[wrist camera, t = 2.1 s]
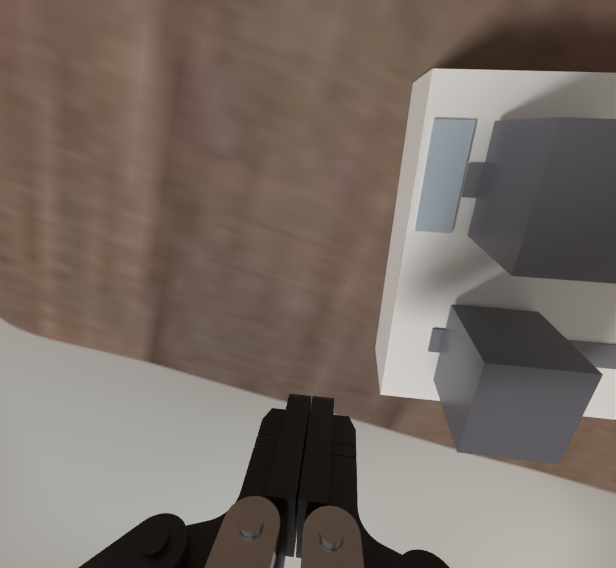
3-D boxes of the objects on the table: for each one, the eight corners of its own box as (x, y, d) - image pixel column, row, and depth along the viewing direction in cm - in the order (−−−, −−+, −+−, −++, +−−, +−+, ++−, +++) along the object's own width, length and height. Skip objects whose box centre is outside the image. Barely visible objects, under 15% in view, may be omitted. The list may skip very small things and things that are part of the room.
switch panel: (375, 348, 21) (380, 395, 17) (412, 83, 15) (433, 67, 11) (660, 375, 19) (733, 433, 16) (823, 94, 14) (1001, 81, 10)
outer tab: (433, 379, 16) (457, 452, 12) (450, 304, 14) (484, 363, 11) (510, 387, 16) (558, 464, 12) (538, 311, 14) (603, 374, 11)
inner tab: (467, 235, 13) (511, 275, 10) (494, 120, 12) (560, 116, 8) (563, 241, 13) (646, 285, 9) (605, 124, 11) (728, 122, 8)
